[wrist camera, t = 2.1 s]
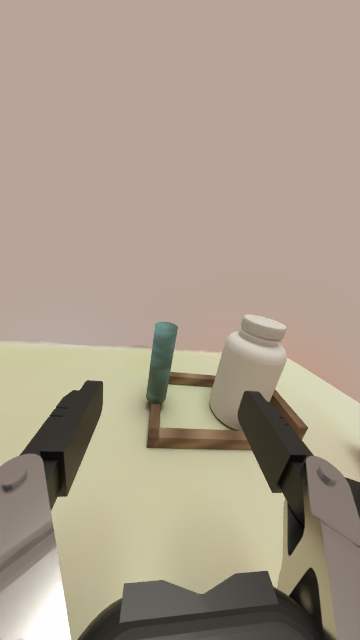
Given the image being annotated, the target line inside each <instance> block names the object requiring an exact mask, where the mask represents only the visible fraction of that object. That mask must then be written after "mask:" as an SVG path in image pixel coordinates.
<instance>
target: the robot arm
mask: <svg viewBox="0 0 360 640" xmlns="http://www.w3.org/2000/svg"><path fill="white" fill-rule="evenodd" d="M102 406H103V382H102V381H90V380H87V381H86V382H85V383H84V385H83V386H82V388H81V389H80V391H77V390H73V391H72V392H70V393H69V394H67V395H66V396H65V397H63V398H62V400H61V401H60V402H59V404H58V405H57V406H56V409H54V411H53V412H52V413H51V415H50V417H48V419H47V420H46V421H45V423H44V424H43V425H42V427H41V428H40V429H39V431H38V432H37V433H36V435H35V436H34V437H33V439H32V440H31V441H30V443H29V444H28V445H27V447H26V448H25V449H24V451H23V452H22V453H21V454H20V455H19V456H17V457H15V458H13V459H11V460H9V461H7V462H6V463H4V464H3V465H2V466H0V640H71V638H70V632H69V625H68V619H67V612H66V606H65V599H64V593H63V586H62V580H61V573H60V566H59V560H58V553H57V547H56V540H55V534H54V529H53V523H52V517H51V510H52V508H53V505H54V503H55V501H56V499H57V497H63V496H67V495H68V493H69V491H70V488H71V486H72V483H73V481H74V479H75V476H76V474H77V471H78V469H79V466H80V464H81V462H82V459H83V457H84V454H85V452H86V449H87V447H88V445H89V442H90V440H91V437H92V435H93V432H94V430H95V428H96V425H97V423H98V420H99V418H100V415H101V411H102ZM238 421H239V424H240V426H241V428H242V430H243V432H244V434H245V436H246V438H247V441H248V443H249V445H250V447H251V449H252V451H253V453H254V455H255V457H256V460H257V462H258V464H259V466H260V468H261V470H262V472H263V474H264V476H265V479H266V481H267V483H268V485H269V487H270V489H271V491H272V493H283V494H284V496H285V498H286V499H285V501H284V516H283V560H282V567H281V571H280V575H279V580H278V587H277V588H275V587H273V585H272V582H271V579H270V576H269V573H268V571H260V572H249V573H238V574H234V575H233V576H231V577H229V578H228V579H226V580H225V581H223V582H222V583H220V584H219V585H217V586H216V587H214V588H213V589H211V590H209V591H208V592H206V593H204V594H198V593H195V592H192V591H190V590H187V589H184V588H182V587H179V586H176V585H174V584H171V583H169V582H166V581H163V580H159V581H148V582H137V583H125V584H124V589H123V597H122V598H121V599H119V600H117V601H116V602H114V603H112V604H111V605H110V606H108V607H107V608H106V609H105V610H103V611H102V612H101V613H100V614H99V615H98V616H97V617H96V618H95V619H94V620H93V621H92V622H91V623H90V625H89V626H88V627H87V628H86V629H85V631H84V632H83V633H82V634H81V636H80V637H79V638H78V640H360V482H357V481H354V480H351V479H348V478H345V477H344V476H343V475H342V474H341V473H340V472H339V471H338V470H337V469H336V468H335V467H334V466H333V465H332V464H330V463H329V462H327V461H326V460H324V459H322V458H319V457H316V456H314V455H313V454H312V453H311V451H310V450H309V449H308V448H307V446H306V445H305V444H304V443H303V441H302V440H301V439H300V437H299V436H298V435H297V434H296V432H295V431H294V430H293V428H292V427H291V426H289V423H288V422H287V421H286V419H284V417H283V416H282V414H281V413H280V412H279V411H278V409H277V408H276V407H274V406H273V405H272V404H271V403H270V402H268V401H266V400H265V398H264V397H263V396H262V394H261V393H260V392H258V391H245V392H244V393H243V396H242V399H241V402H240V406H239V409H238Z"/></svg>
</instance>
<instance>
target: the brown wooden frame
mask: <svg viewBox="0 0 360 640" xmlns="http://www.w3.org/2000/svg"><path fill="white" fill-rule="evenodd" d="M177 329H178V327H177V326H176V325H175V324H172V323H168V322H159V323H156V324H155V333H154V340H153V347H152V355H151V363H150V371H149V379H148V387H147V395H146V398H147V400H148V401H149V402H150V403H151V408H150V419H149V430H148V442H147V447H148V448H193V449H237V450H252V449H251V447H250V445H249V443H248V441H247V438H246V436H245V434H244V432H243V431H232V430H206V429H180V428H160V403H162V402H164V401H165V399H166V393H167V388H168V384H178V385H192V386H205V387H213V384H214V381H215V377H216V376H212V375H200V374H188V373H176V372H170V370H171V364H172V358H173V352H174V346H175V341H176V335H177ZM270 403H271V404H272V405H273V406H274V407H276V408H277V409H278V411H279V412H280V413H281V414H282V416H283V417H284V419H286V421H287V422H288V423H289V426H291V427H292V428H293V430H294V431H295V432H296V434H297V435H298V436H299V437H300V439H301V440H302V438H303V437H304V435H305V433H306V431H307V429H308V427H307V426H306V425H305V423H304V422H303V421H302V420H301V419H300V418H299V417H298V415H297V414H296V413H295V412H294V411H293V410H292V408H291V407H290V406H289V405H288V404H287V403H286V402H285V400H284V399H283V398H282V397H281V396H280V395H279V393H278V392H277V391H276V390H274V393H273V395H272V397H271V400H270Z"/></svg>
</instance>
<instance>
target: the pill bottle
mask: <svg viewBox="0 0 360 640" xmlns="http://www.w3.org/2000/svg"><path fill="white" fill-rule="evenodd" d="M239 330H240V331H237V332H233V333H231V334H230V335H229V336H228V337H227V339H226V341H225V345H224V348H223V352H222V356H221V359H220V363H219V366H218V370H217V374H216V377H215V381H214V384H213V388H212V392H211V395H210V406H211V409H212V411H213V413H214V414H215V416H216V417H217V418H218V419H219V420H220V421H221V422H223V423H224V424H225V425H227V426H229V427H231V428H233V429H236V430H239V431H243V430H242V428H241V426H240V424H239V421H238V409H239V406H240V402H241V399H242V396H243V393H244V392H245V391H258V392H260V393H261V394H262V396H263V397H264V398H265V400H266V401H268V402H270V400H271V397H272V395H273V393H274V390H275V388H276V385H277V383H278V380H279V378H280V375H281V373H282V371H283V368H284V366H285V363H286V358H287V356H286V352H285V350H284V348H283V347H282V346H281V345H280V344H279V342H281V339H283V337H284V335H285V332H286V326H284V325H283V324H281V323H279V322H277V321H274V320H272V319H268V318H265V317H261V316H256V315H245V316H244V317H243V320H242V323H241V326H240V328H239Z"/></svg>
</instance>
